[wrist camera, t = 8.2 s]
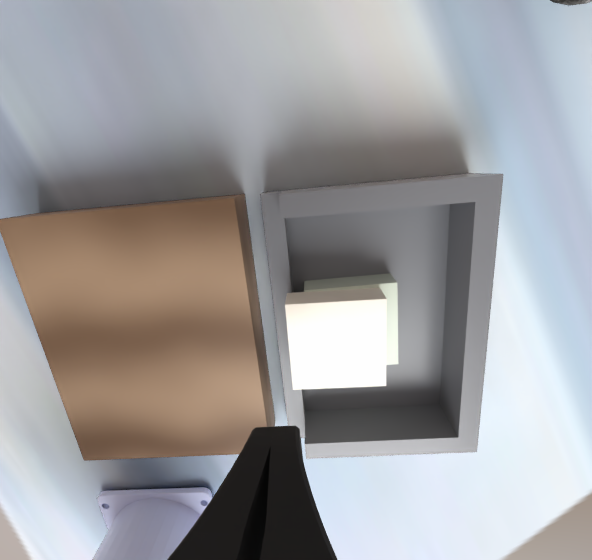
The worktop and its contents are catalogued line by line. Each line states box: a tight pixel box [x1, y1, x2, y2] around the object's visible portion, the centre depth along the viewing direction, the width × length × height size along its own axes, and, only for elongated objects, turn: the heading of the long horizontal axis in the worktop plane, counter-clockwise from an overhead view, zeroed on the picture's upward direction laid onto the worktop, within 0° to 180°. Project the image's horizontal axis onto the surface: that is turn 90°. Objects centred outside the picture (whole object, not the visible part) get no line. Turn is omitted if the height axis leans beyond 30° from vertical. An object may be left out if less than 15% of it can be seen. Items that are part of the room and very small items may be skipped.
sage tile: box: [304, 273, 398, 365], centre depth 18 cm, size 4×4×2 cm
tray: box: [260, 173, 503, 459], centre depth 17 cm, size 14×10×3 cm
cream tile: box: [285, 288, 387, 390], centre depth 16 cm, size 4×4×2 cm
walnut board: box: [0, 194, 275, 460], centre depth 18 cm, size 14×11×2 cm
